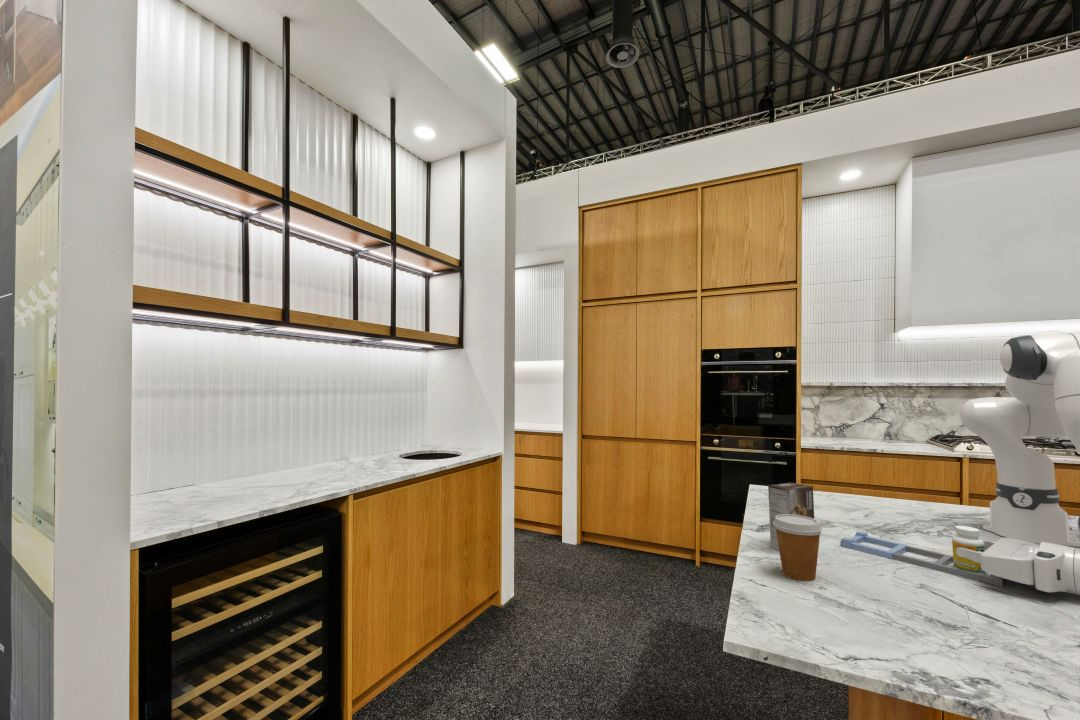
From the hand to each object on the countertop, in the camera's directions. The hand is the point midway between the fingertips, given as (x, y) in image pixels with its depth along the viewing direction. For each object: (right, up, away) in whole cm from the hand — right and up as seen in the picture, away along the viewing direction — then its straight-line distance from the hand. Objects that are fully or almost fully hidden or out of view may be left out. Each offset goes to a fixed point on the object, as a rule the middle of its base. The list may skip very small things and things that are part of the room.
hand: (963, 546), depth 103 cm
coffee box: (-31, -6, +13) cm, 35 cm away
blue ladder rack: (-5, -6, +6) cm, 10 cm away
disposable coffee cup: (-39, -5, -3) cm, 40 cm away
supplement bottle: (0, -5, -1) cm, 5 cm away
